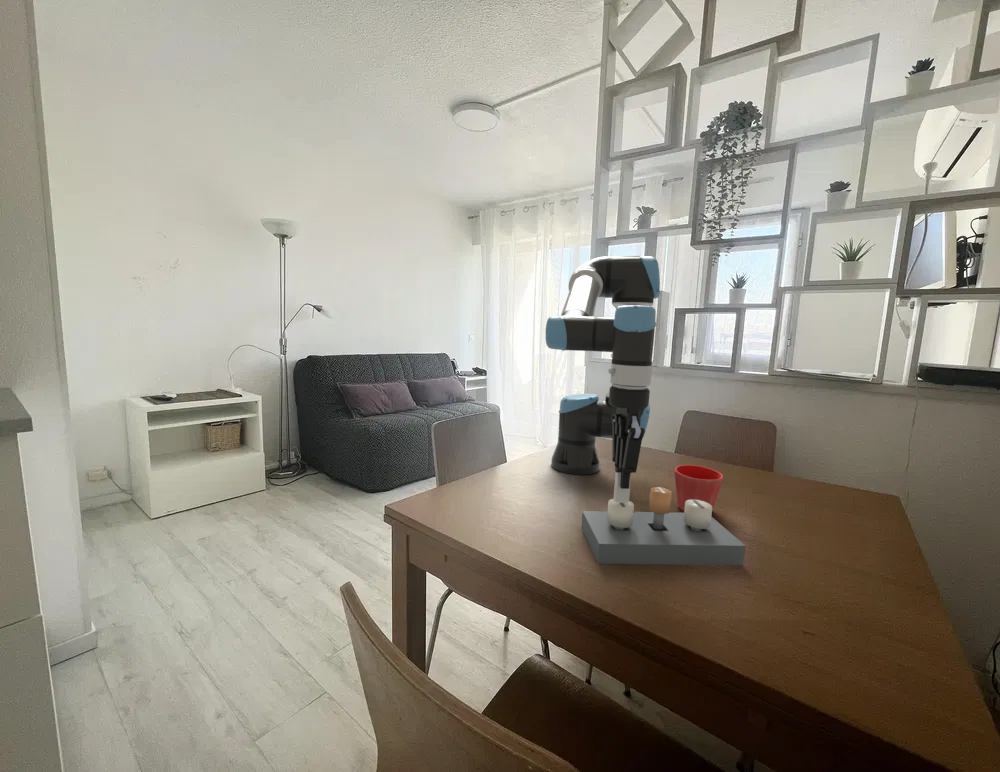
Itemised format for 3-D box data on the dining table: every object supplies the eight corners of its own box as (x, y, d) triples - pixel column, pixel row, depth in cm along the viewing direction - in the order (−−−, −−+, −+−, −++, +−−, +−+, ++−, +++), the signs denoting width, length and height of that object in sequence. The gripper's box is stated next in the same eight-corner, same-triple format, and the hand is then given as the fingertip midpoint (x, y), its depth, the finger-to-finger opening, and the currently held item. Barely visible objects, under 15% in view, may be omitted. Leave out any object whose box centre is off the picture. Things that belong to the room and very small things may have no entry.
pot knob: (644, 522, 88) (647, 486, 87) (663, 522, 88) (666, 486, 87) (652, 531, 84) (655, 493, 83) (671, 532, 84) (675, 494, 83)
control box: (581, 528, 93) (582, 511, 93) (705, 529, 94) (707, 513, 94) (597, 563, 79) (599, 543, 79) (743, 565, 80) (745, 545, 80)
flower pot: (725, 521, 99) (729, 481, 98) (676, 515, 101) (679, 476, 100) (712, 502, 109) (716, 466, 108) (667, 498, 111) (670, 463, 110)
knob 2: (677, 534, 89) (681, 498, 88) (700, 534, 89) (704, 498, 88) (688, 546, 84) (692, 508, 83) (713, 546, 84) (717, 509, 83)
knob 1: (603, 533, 89) (605, 497, 88) (626, 533, 89) (629, 497, 88) (609, 545, 84) (612, 507, 83) (634, 545, 84) (637, 507, 83)
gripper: (601, 381, 88) (594, 488, 91) (621, 390, 75) (612, 515, 79) (637, 382, 88) (628, 489, 92) (662, 391, 75) (651, 516, 79)
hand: (621, 501), depth 85 cm, fingers closed
